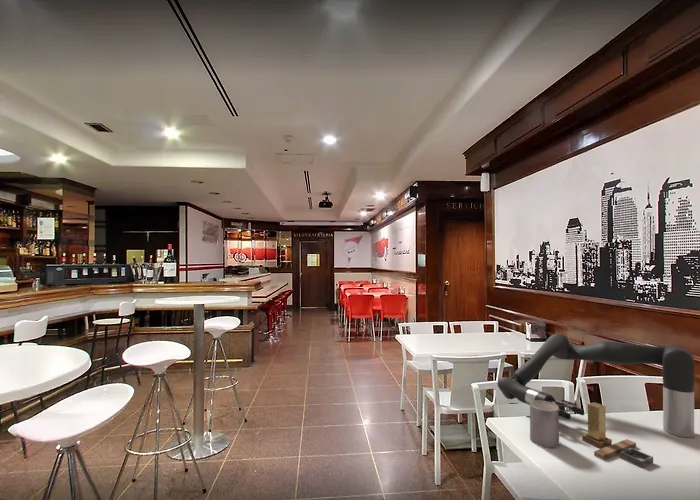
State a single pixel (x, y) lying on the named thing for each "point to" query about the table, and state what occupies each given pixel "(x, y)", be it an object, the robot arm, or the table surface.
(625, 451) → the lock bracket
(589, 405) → the tan wooden block
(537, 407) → the pillar candle
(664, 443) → the table surface
